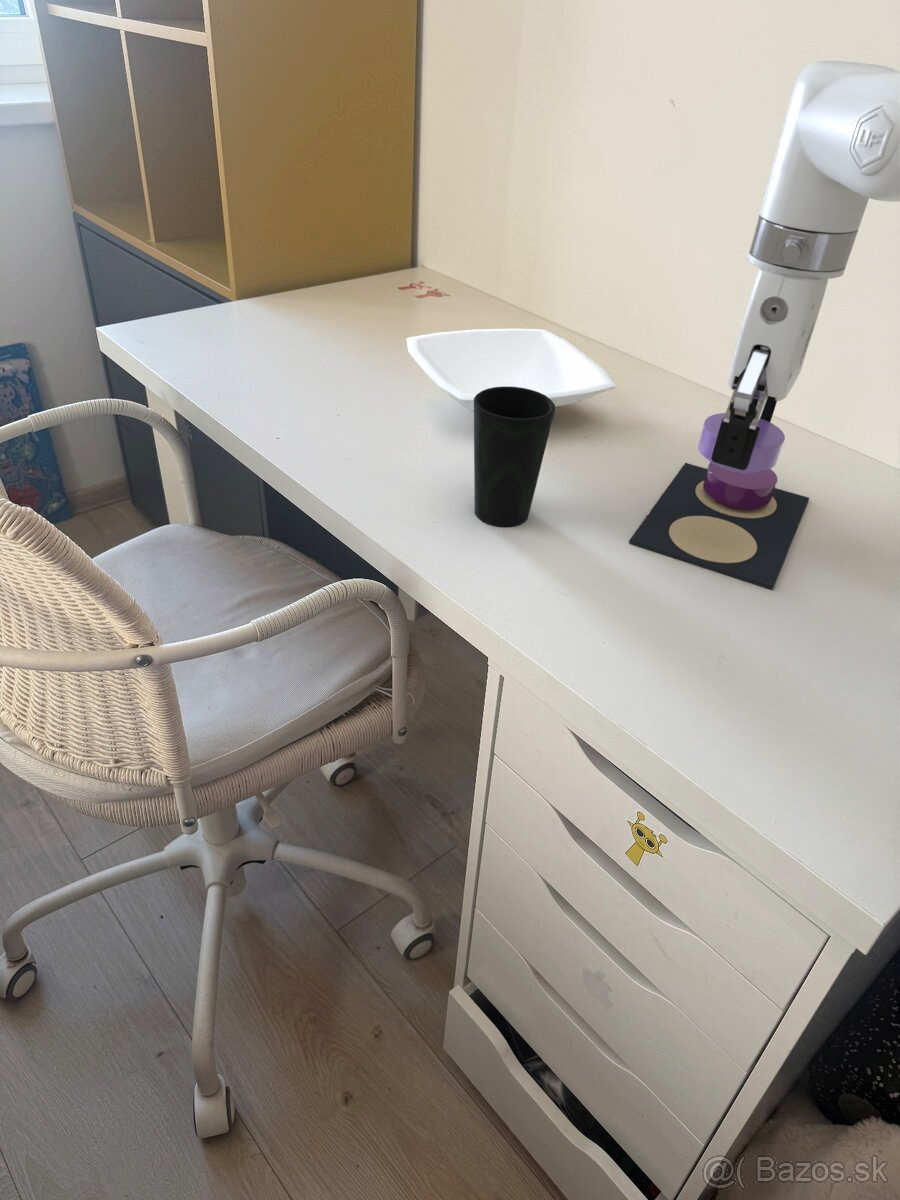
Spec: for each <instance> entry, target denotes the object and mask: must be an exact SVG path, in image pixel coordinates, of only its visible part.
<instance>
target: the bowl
mask: <svg viewBox="0 0 900 1200" xmlns="http://www.w3.org/2000/svg"><path fill="white" fill-rule="evenodd" d="M406 343H407V351H408V353H409V355H411V357H412V358H413V359H414V361H415V362H416V364H418V365H419V367H420V368H421V369H422V371H423V372H424V373H425V374H426V375H427V376H428V377H429V378H430V380H431V381H432V382H433V383H434V384H435V385H436V386H437V387H438V388H439V389H440V390H442V391H443V392H444V393H445V394H447V395H448V396H450V397H451V398H452V399H454V401H456V402H458V403H459V404H461V405H462V406H464V407H466V408H467V409H468V410H470V411H473V412H474V398H475V396H476V395H477V394H478V393H480V392H481V391H483V390H486V389H489V388H494V387H504V386H505V387H520V388H526V389H530V390H534V391H537V392H539V393H541V394H543V395H546V396H547V397H548V398H550V399H551V400H552V402H553V403H554V404H555V408H556V407H562V406H567V405H570V404H575V403H579V402H582V401H585V400H587V399H590V398H593V397H596V396H598V395H600V394H603V393H605V392H608V391H611V390H613V389H615V388H616V384H615V382H614V380H613V379H612V378H611V376H610V375H609V373H608V371H607V370H605V369H604V368H603V367H601V366H600V365H599V364H598V363H597V362H596V361H594V360H593V359H591V358H590V357H589V356H588V355H586V354H585V353H584V352H582V351H581V350H580V349H579V348H577V347H576V346H575V345H574V344H572V343H570V342H569V341H568V340H567V339H565V338H563V337H560V336H558V335H557V334H555V333H553V332H550V331H549V330H546V329H538V328H484V329H483V328H482V329H481V328H480V329H475V328H474V329H464V330H454V331H444V332H434V333H428V334H423V335H416V336H409V337H407V338H406Z"/></svg>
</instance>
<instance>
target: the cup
mask: <svg viewBox="0 0 900 1200" xmlns="http://www.w3.org/2000/svg"><path fill="white" fill-rule="evenodd" d="M555 411H556V407H555V404H554V403H553V402H552V400H551V399H550V398H548V397H547V396H546V395H543V394H541V393H539V392H537V391H534V390H530V389H526V388H520V387H505V386H504V387H494V388H489V389H486V390H483V391H481V392H480V393H478V394H477V395H476V396H475V398H474V411H473V453H474V454H473V471H474V472H473V473H474V474H473V475H474V478H473V479H474V481H473V482H474V484H473V485H474V487H473V488H474V515H475V516H476V518H477V519H479V520H480V521H481V522H483V523H485V524H487V525H490V526H494V527H499V528H512V527H513V528H514V527H517V526H520V525H522V524H524V523H526V522H527V521H528V518H529V516H530V512H531V507H532V505H533V500H534V496H535V492H536V488H537V484H538V479H539V476H540V472H541V468H542V464H543V460H544V456H545V451H546V447H547V443H548V440H549V436H550V430H551V428H552V424H553V419H554V416H555Z"/></svg>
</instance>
